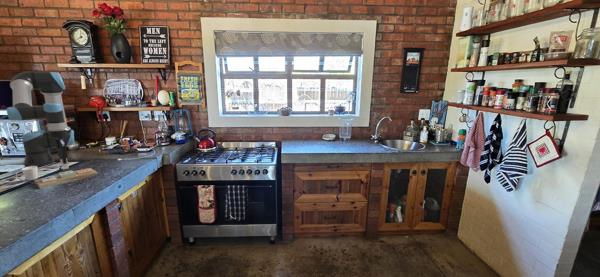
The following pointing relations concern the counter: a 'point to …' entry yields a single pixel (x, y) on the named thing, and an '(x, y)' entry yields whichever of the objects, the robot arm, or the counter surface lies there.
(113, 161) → the counter surface
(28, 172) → the cup
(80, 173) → the tile
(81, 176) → the board
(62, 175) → the tile
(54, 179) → the tile
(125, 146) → the figurine
